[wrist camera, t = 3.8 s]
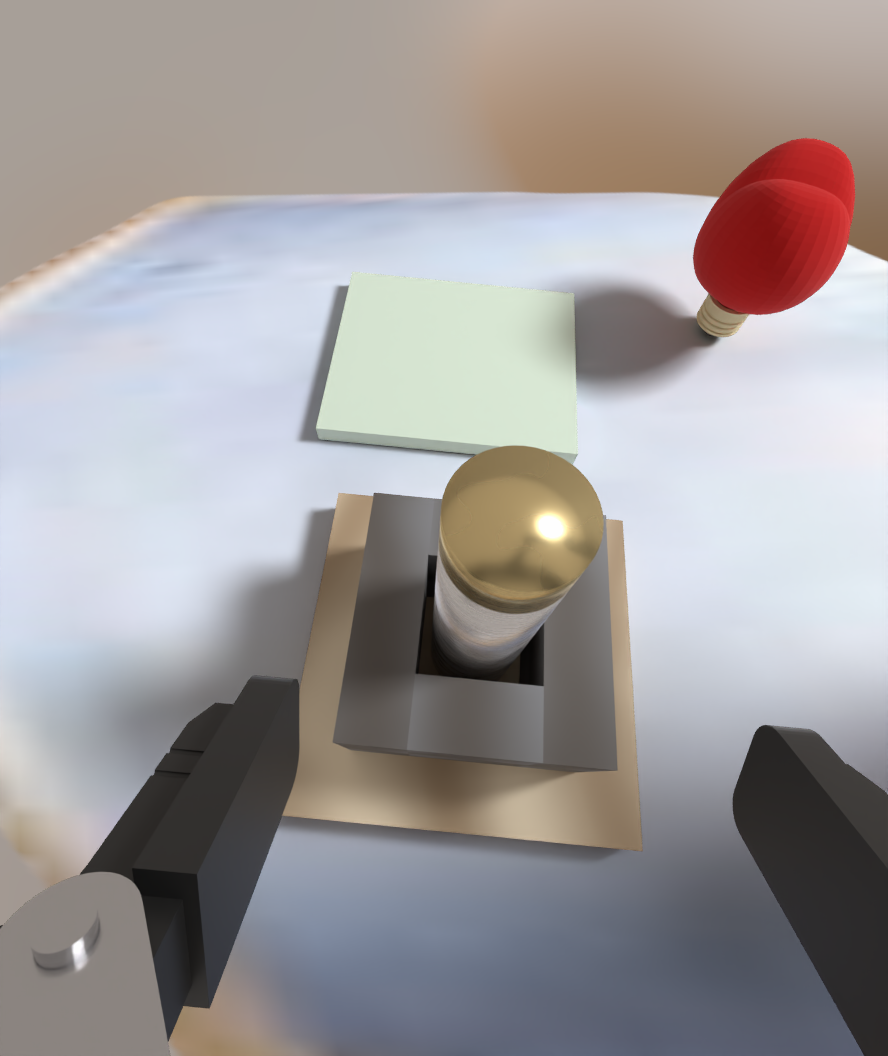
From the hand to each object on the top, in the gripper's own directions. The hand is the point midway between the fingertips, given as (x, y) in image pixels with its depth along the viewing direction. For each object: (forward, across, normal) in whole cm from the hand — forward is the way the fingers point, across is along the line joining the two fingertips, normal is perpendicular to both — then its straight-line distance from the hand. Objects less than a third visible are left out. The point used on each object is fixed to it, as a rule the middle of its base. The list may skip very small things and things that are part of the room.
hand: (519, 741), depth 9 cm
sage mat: (+26, +2, -5) cm, 26 cm away
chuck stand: (+14, 0, +7) cm, 15 cm away
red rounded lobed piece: (+29, -14, -8) cm, 33 cm away
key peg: (+12, 0, +6) cm, 14 cm away
